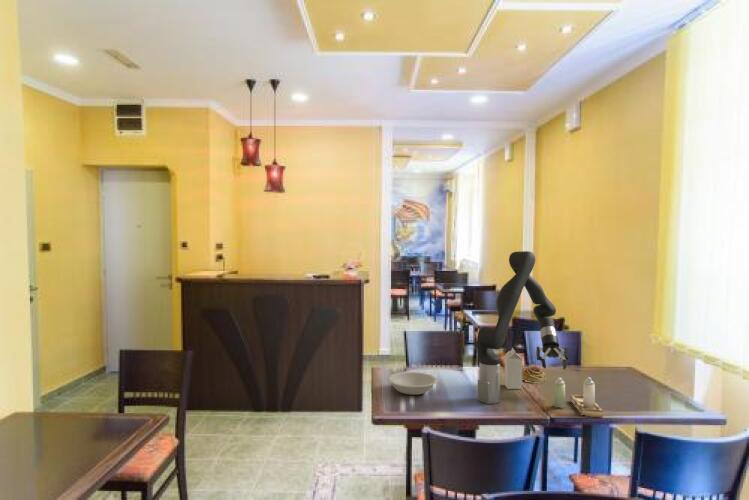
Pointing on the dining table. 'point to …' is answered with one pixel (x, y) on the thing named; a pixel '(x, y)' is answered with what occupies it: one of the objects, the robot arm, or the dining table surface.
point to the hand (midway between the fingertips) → (554, 368)
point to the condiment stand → (578, 403)
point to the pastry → (533, 374)
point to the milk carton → (513, 370)
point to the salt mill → (589, 394)
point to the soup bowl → (412, 382)
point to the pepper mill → (559, 393)
